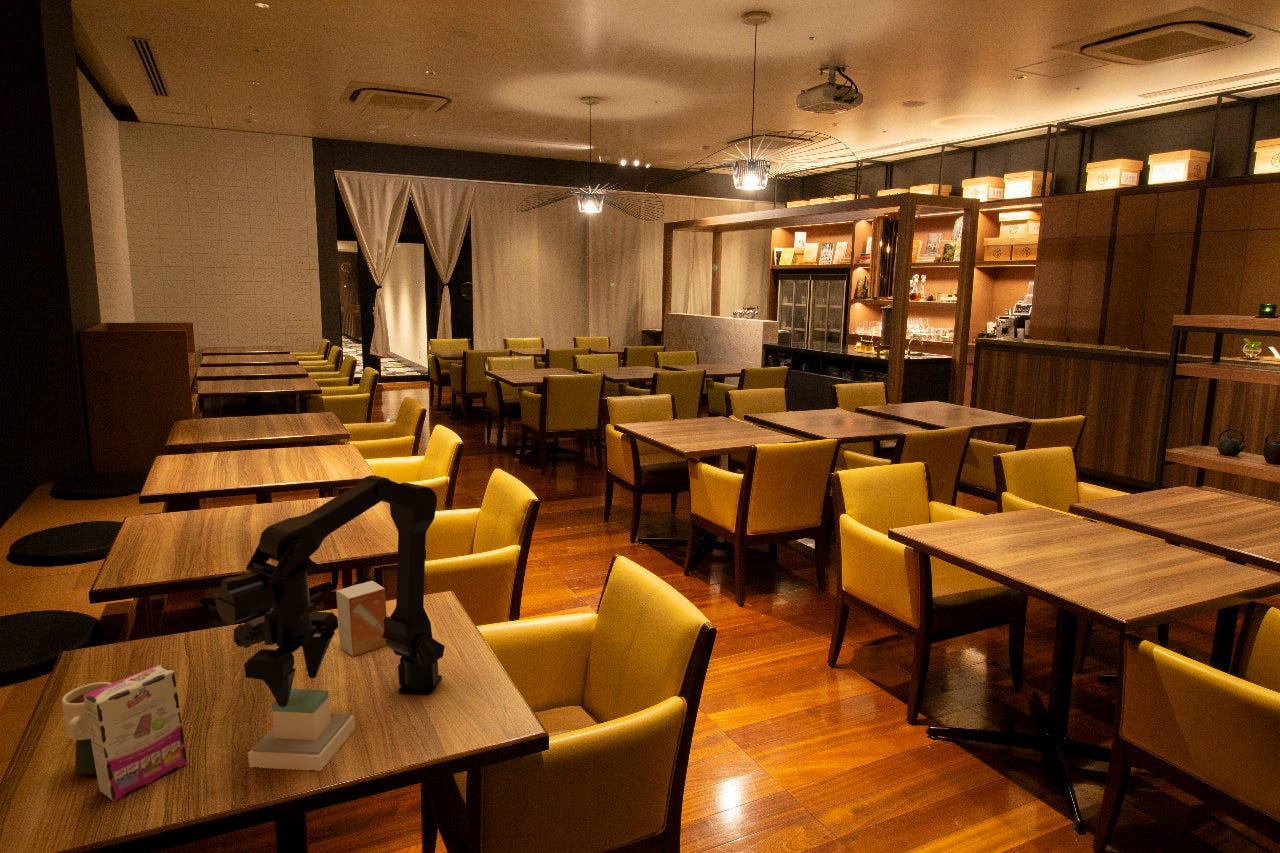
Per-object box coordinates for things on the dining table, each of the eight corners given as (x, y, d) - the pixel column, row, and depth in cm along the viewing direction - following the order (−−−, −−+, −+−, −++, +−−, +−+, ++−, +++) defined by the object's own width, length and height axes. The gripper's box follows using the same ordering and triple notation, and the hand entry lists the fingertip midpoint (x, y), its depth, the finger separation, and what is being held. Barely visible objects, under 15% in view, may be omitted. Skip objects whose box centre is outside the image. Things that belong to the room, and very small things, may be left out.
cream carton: (291, 721, 132) (288, 688, 131) (330, 723, 131) (328, 690, 130) (275, 738, 127) (271, 704, 126) (315, 740, 126) (312, 706, 125)
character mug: (105, 786, 120) (94, 709, 117) (55, 790, 119) (43, 713, 116) (140, 745, 130) (131, 674, 128) (94, 749, 129) (84, 677, 127)
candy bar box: (172, 754, 128) (160, 662, 125) (188, 764, 125) (176, 670, 122) (96, 792, 118) (81, 693, 115) (112, 803, 116) (97, 702, 113)
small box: (352, 657, 160) (348, 598, 158) (339, 647, 165) (335, 589, 162) (389, 645, 166) (385, 587, 163) (376, 635, 170) (371, 579, 168)
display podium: (355, 728, 135) (354, 712, 134) (321, 771, 123) (319, 754, 123) (289, 725, 136) (287, 709, 135) (249, 767, 124) (247, 750, 124)
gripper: (274, 578, 135) (282, 662, 137) (205, 625, 116) (216, 720, 119) (336, 581, 134) (342, 665, 136) (276, 628, 115) (285, 724, 118)
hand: (298, 691), depth 128 cm, fingers open, 9 cm apart
